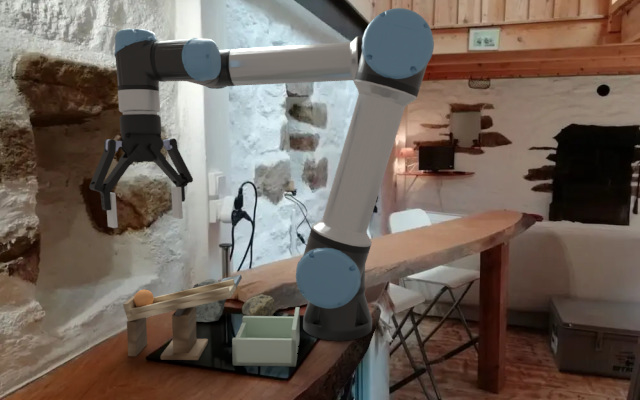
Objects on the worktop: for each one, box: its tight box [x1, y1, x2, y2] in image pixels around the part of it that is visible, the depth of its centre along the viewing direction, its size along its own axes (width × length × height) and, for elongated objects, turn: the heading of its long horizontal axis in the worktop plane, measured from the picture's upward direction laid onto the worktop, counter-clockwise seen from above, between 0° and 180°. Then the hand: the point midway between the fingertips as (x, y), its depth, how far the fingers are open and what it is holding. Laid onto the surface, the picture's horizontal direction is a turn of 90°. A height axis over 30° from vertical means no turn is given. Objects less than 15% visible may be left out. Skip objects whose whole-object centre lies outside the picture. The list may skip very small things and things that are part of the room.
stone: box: [192, 278, 227, 323], centre depth 116 cm, size 10×10×10 cm
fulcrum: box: [126, 306, 209, 361], centre depth 98 cm, size 14×8×8 cm, turn 89°
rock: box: [241, 293, 277, 316], centre depth 118 cm, size 7×8×4 cm
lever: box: [122, 274, 243, 321], centre depth 100 cm, size 20×14×4 cm
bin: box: [231, 306, 301, 367], centre depth 98 cm, size 12×12×7 cm
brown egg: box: [134, 289, 155, 307], centre depth 97 cm, size 4×4×4 cm
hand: (146, 222), depth 100 cm, fingers open, 13 cm apart
